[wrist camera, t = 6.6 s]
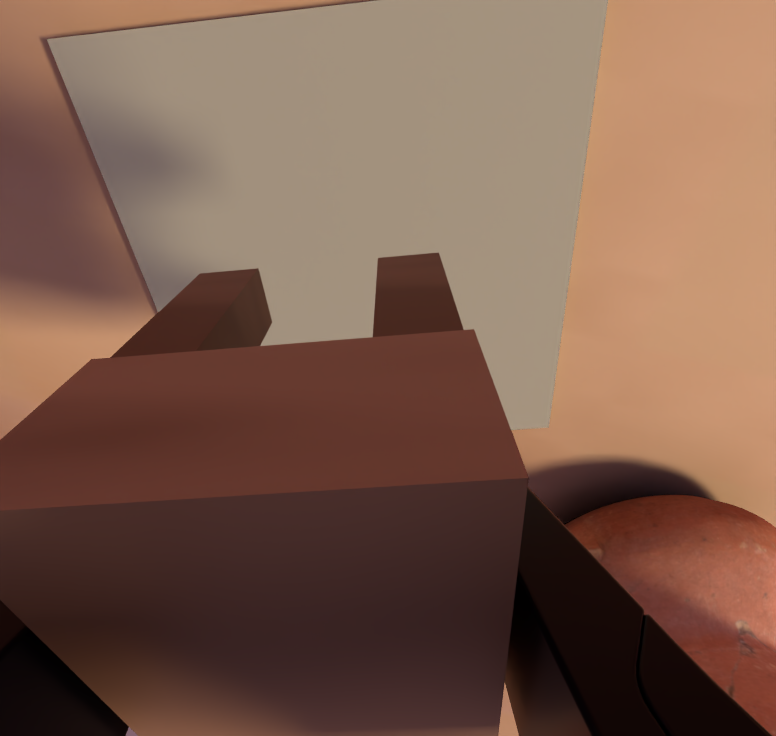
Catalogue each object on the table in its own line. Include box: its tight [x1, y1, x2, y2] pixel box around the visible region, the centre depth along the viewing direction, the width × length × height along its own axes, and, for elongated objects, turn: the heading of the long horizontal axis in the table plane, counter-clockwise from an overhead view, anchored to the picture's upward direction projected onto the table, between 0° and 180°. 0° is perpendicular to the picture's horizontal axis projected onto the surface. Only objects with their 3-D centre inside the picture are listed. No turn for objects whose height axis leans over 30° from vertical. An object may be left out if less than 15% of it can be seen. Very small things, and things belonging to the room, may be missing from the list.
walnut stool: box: [0, 253, 529, 736], centre depth 8 cm, size 6×5×6 cm
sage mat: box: [47, 0, 608, 430], centre depth 16 cm, size 16×16×1 cm
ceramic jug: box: [565, 495, 776, 736], centre depth 20 cm, size 18×14×14 cm
